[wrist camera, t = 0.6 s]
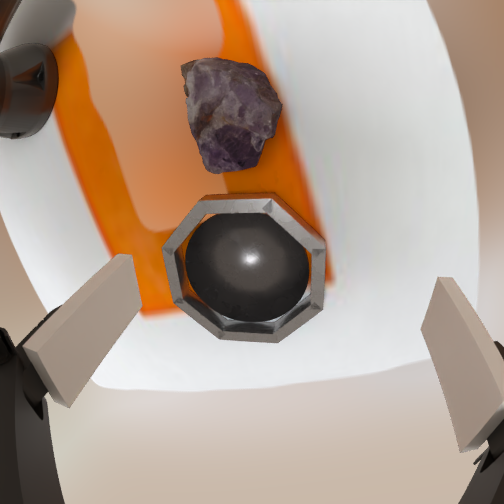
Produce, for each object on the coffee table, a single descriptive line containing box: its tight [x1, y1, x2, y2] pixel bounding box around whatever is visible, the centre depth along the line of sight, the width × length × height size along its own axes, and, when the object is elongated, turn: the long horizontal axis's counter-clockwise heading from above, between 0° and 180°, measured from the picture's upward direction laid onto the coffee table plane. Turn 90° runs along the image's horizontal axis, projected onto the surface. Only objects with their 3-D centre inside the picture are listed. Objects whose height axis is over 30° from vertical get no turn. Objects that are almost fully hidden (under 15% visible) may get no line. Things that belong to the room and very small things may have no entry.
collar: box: [162, 193, 326, 343], centre depth 37 cm, size 19×19×2 cm
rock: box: [181, 58, 283, 174], centre depth 27 cm, size 12×9×10 cm
